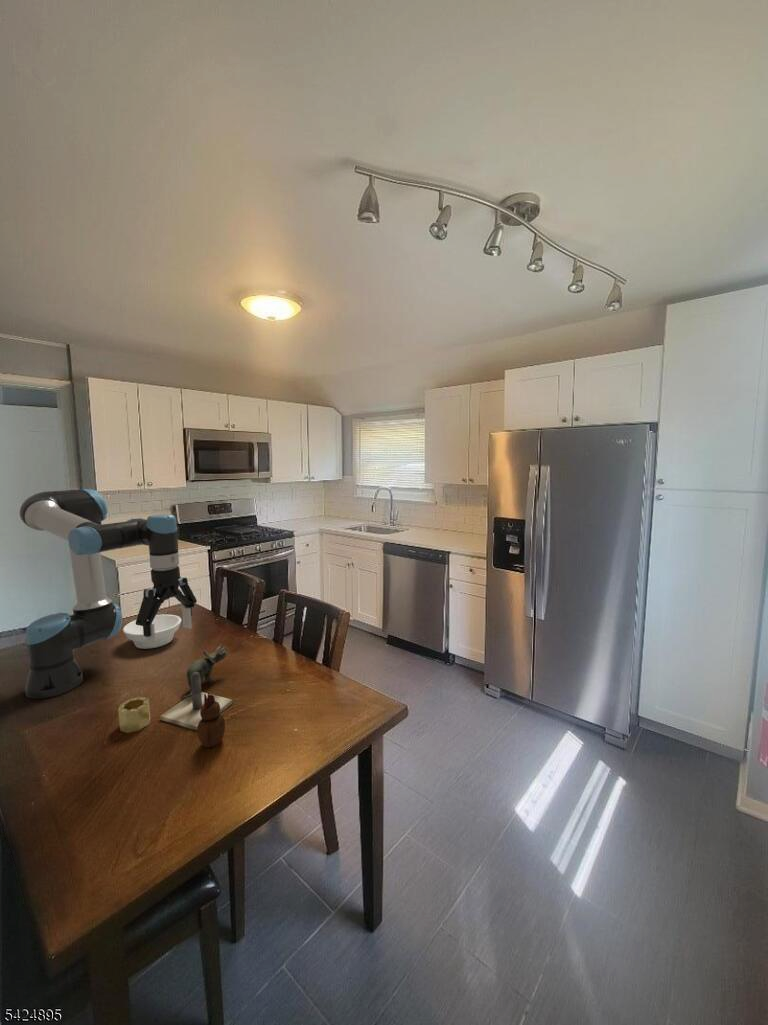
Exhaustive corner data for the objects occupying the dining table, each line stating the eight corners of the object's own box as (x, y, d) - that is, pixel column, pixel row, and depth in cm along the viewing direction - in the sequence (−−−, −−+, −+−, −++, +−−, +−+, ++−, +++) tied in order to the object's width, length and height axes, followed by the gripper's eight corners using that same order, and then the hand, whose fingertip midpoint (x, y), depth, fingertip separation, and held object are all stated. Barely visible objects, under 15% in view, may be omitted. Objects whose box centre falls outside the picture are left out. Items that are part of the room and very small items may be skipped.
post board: (160, 719, 122) (157, 679, 120) (197, 694, 135) (195, 657, 133) (198, 730, 117) (195, 688, 115) (232, 703, 130) (230, 665, 128)
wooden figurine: (207, 754, 108) (204, 700, 106) (194, 746, 111) (190, 693, 109) (230, 739, 113) (227, 687, 111) (216, 732, 116) (213, 681, 114)
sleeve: (114, 728, 118) (112, 708, 117) (137, 714, 125) (136, 695, 124) (133, 734, 115) (131, 714, 115) (155, 719, 122) (154, 700, 121)
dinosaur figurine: (187, 710, 127) (185, 675, 126) (163, 706, 129) (161, 671, 128) (229, 673, 148) (228, 643, 147) (208, 671, 150) (207, 641, 149)
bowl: (166, 654, 162) (164, 634, 161) (112, 654, 162) (110, 634, 161) (191, 632, 183) (190, 614, 182) (143, 632, 183) (142, 614, 182)
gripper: (137, 580, 110) (144, 656, 113) (206, 558, 133) (209, 622, 136) (116, 577, 112) (123, 652, 115) (187, 556, 136) (191, 619, 138)
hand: (170, 636), depth 126 cm, fingers open, 13 cm apart
